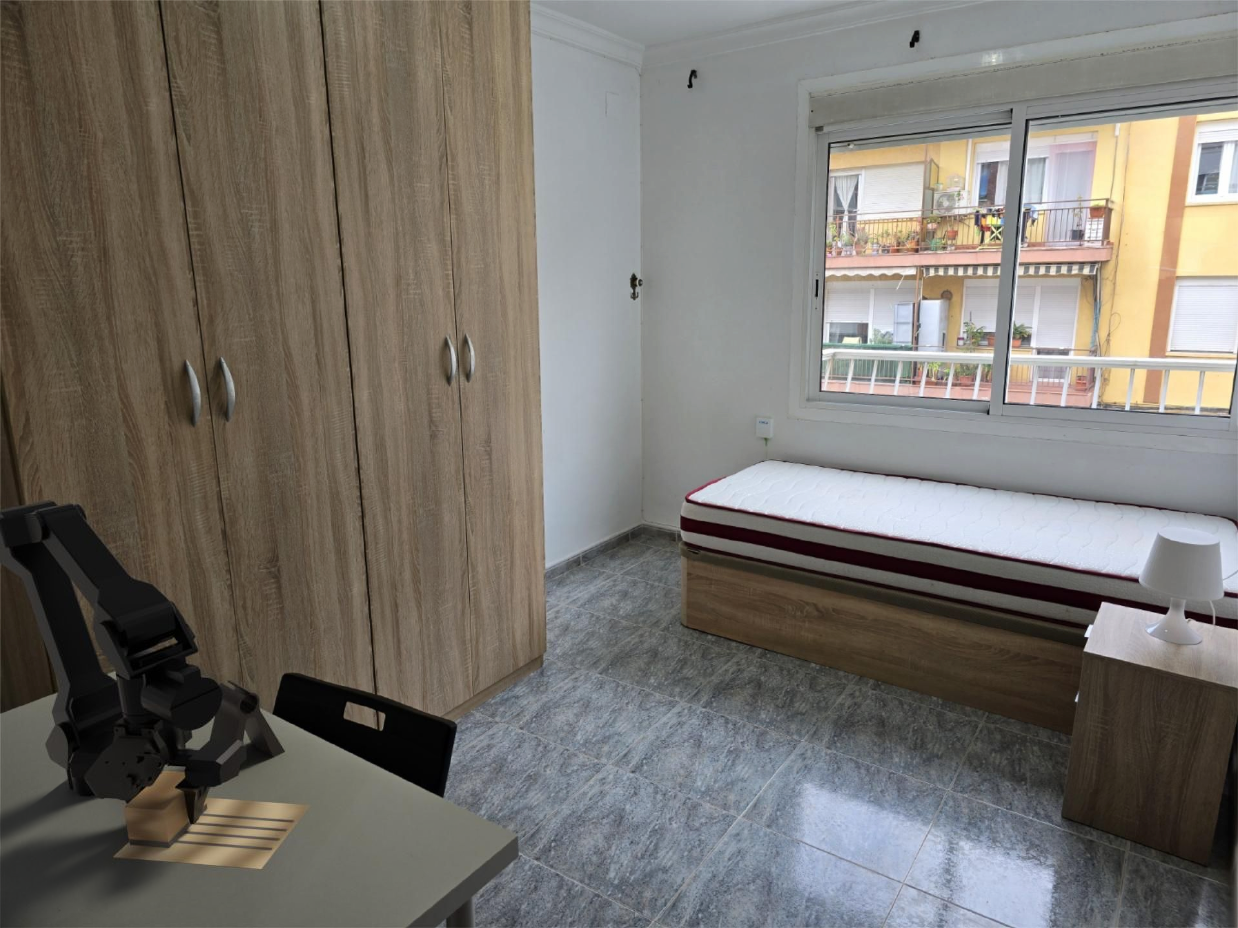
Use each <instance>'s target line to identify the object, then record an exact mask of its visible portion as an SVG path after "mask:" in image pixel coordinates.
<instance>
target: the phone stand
mask: <svg viewBox="0 0 1238 928" xmlns="http://www.w3.org/2000/svg"><path fill="white" fill-rule="evenodd" d="M227 683H228V684H230V685H232V686H233V687H234V689H233V688H231V687H229V686H228V685H226V684H224V683H223V682H220V683H219V684H218V685H219V686H220V688H221V689H222V703H221V706H220V708H219V710H218V712H217V714H216V715H215V716H214V718H213V723H212V728H211V730H210V731H211V733H210V738H209V740H210V739H211V738H222V739H238V740H240V741H242V742H244V739H245V732H246V735H247V737H248V740H249V742H250V744H252V745H254V746H255V747H257V748H258V749H260V750H261V751H263V752H264V753H266V754H267V755H269V756H271V757H272V758H276V757H278V756H279V755H282V754H284V753H285V752H286V750H285V748H284V747H283V745H282V744H281V742H280V740H279V739H278V737H277V735H276V734H275V732H274V731H273V729H272V727H271V726H270V724H269V722H268V721H267V719H266V717H265V716H264V714H263V712H262V711H261V706H260V697H259V695H258V694H257V693H255V692H253V690H252V691H251V690H250V689H248V688H246V687H245V686H243V685H241V684H239V683H237V682H236V681H234V680H231V679H228V680H227ZM240 767H241V765H240V766H239V767H238V768H237V769H236V770H235V771H234V772H233V773H232V774H231V775H230V776H229V777H228V778H227V779H226V780H225V781H224V782H229V781H231V780H232V779H234V778H237V777H238V776H239V775H240Z"/></svg>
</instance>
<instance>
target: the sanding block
mask: <svg viewBox="0 0 1238 928" xmlns="http://www.w3.org/2000/svg"><path fill="white" fill-rule="evenodd" d="M184 778H185V773H184V771H175V770H163V771H162V772H161V774H160V775H159V777H158V778H157V780H156V781H155V783H154V784H153V785H152V786H150V787H146V788H145V789H144V790H142V791H141V792H140V793H139V794H138V795H137V796H136V797H135V798H133V799H132V800H131V801H130V802H129V803H128V804H127V803H126V805H124V806H123V812H124V813H123V814H124V818H125V824H126V831H127V836H128V842H129V843H130V845H138V846H150V847H163V848H170V847H171V846H172V845H173V844H174V843H175V842H176V841H177V840H178V839H179V838H180V837H181V836H182V835H183V834H184V832H185V831H186V830H187V829H188V828H189V827H190V826H191V825H192V824H190V821H189V818H188V815H187V809H186V803H185V797H184V792H183V791H181V790H178V789H176V788H175V786H176V785H177V784H179V783H180V782H181V781H182V780H183V779H184ZM206 810H207V802H206V800H205V803H204V806H203V809H202V812H201V815H202V814H203V813H204V812H205V811H206ZM201 815H200V816H201Z"/></svg>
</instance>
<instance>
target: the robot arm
mask: <svg viewBox="0 0 1238 928" xmlns="http://www.w3.org/2000/svg"><path fill="white" fill-rule="evenodd" d="M0 564H1V565H2V566H4V567H5V568H6V569H8V570H10V572H12V573H14V574H15V575H17V576H18V577H20V578H21V579H22V582H23V584H24V588H25V590H26V593H27V596H28V599H29V602H30V604H31V605H30V606H31V607H32V610H33V614H34V616H35V619H36V622H37V625H38V628H39V630H40V634H41V636H42V639H43V641H44V644H45V649H46V650H47V653H48V656H49V660H50V662H51V665H52V668H53V672H54V674H55V677H56V680H57V681H58V686H59V687H58V691H57V694H56V697H55V700H54V704H53V705H52V710H51V714H52V718H53V722H54V726H53V728H52V729H51V732H50V734H49V735H48V738H47V739H46V741H45V748H46V751H47V754H48V757H49V760H51V761H52V762H54V763H55V764H57V765H58V766H60V767H62V768H63V769H65V771H66V775H67V776H66V777H67V781H68V787H69V788H68V789H69V790H72V791H74V794H75V795H77V796H79V797H94V796H95V797H96V798H97V799H100V800H105V799H114V800H119V801H124V802H125V804H126V805H127V804H128V803H129V802H130V801H131V800H132V799H133V798H135V797H136V796H137V795H138V794H139V793H140V792H141V791H142V790H144V789H145V788H146V787H150V786H152V785H153V784H154V783H155V781H156V780H157V778H158V777H159V775H161V774H162V773H163V772H164V768H168V767H179V768H180V767H181V768H184V771H183V772H184V773H185V778H184V779H183V780H182V781H181V782H180V783H179V784H177V785H176V786H175V788H176V789H178V790H181V791H183V792H184V797H185V803H186V809H187V815H188V818H189V821H190V824H195V823H196V822H197V821H198V820H199V817H200V815H201V812H202V809H203V806H204V803H205V800H206V798H208V795H209V791H210V789H211V788H216V787H219V786H221V785H222V784H223V783H224V782H225V780H226V779H227V778H228V777H229V776H230V775H231V774H232V773H233V772H234V771H235V770H236V769H237V768H238V767H239V766H240V767H241V765H242V764H243V763H244V762H245V761H246V760H247V759H248V758H247V751H246V745H245V742H244V741H243V742H242V741H240V740H238V739H222V738H211V739H210V738H209V740H208V741H207V742H206V743H205V744H204V745H202V746H201V747H200V748H193V747H192V748H191V747H186V746H187V745H186V744H187V743H188V742H189V741H191V739H192V738H193V732H192V731H195V730H199V729H200V728H203V727H204V726H206V725H207V724H209V723H210V722H211V721H212V720H214V718H215V715H216V714H217V712H218V710H219V708H220V706H221V703H222V689H221V688H220V686H219V684H218V682H217V681H216V680H214V679H213V678H210V677H208V676H206V675H203V674H202V671H201V670H202V669H201V668H200V667H199V666H198V665H195V664H190V663H187V657H190V656H192V655H194V654H197V653H199V649H198V646H197V644H196V641H195V639H196V635H195V633H194V632H193V630H192V628H191V626H190V625H189V624H188V622H187V620H186V619H185V617H184V616H183V615H182V612H181V611H180V610H179V608H178V607H177V605H176V604H175V603H174V602H173V601H172V600H171V599H169V598H168V597H167V596H166V595H164V593H163V592H162V591H161V590H159V588H157V587H156V586H155V585H154V584H152V583H149V582H145V581H143V580H139V579H136V578H134V577H133V576H132V575H131V574H129V572H128V571H127V570H126V568H125V567H124V566H123V565H122V564H121V562H120V561H119V560H118V559H117V557H116V556H115V554H113V552H112V551H111V550H110V549H109V548H108V546H107V545H106V543H105V542H104V541H103V540H102V539H101V537H100V536H99V535H98V533H97V532H96V531H95V530H94V529H93V528H92V526H91V525H90V523H89V522H88V520H87V515H86V513H85V510H84V509H83V507H82V505H80V504H79V503H71V502H68V503H63V504H59V505H58V504H57V503H56V502H55V501H53V500H52V499H49V500H44V501H39V502H38V501H37V502H34V503H33V502H32V503H28V504H23V505H19V506H12V507H10V508H3V509H0ZM74 585H75V586H74ZM75 587H76V588H77V589H78V590H79V593H81V594H82V597H84V599H86V600H87V602H88V604H89V606H91V609H92V610H93V617H92V625H91V630H92V632H93V634H94V638H95V641H96V644H97V646H98V647H99V649H100V650H101V652H102V653H103V654H104V656H105V658H106V659H107V661H108V664H110V665H112V667H113V668H114V671H115V677H116V678H113V677H112V676H111V675H109V674H108V673H106V672H105V671H104V670H103V668H102V666H101V662H100V659H99V656H98V654H97V650H96V647H95V644H94V641H93V639H92V636H91V634H90V630H89V627H88V624H87V622H86V621H87V620H86V618H85V615H84V612H83V610H82V607H81V604H80V601H79V599H78V595H77V593H76V590H75V589H76V588H75ZM173 639H174V640H175V641H176V642H174V643H172V644H169V645H166V646H164V647H161V648H160V649H159V648H158V649H157V650H156V649H154V648H155V647H157V646H160V645H163V644H165V643H168V642H170V641H172V640H173Z"/></svg>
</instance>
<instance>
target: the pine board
mask: <svg viewBox="0 0 1238 928" xmlns="http://www.w3.org/2000/svg"><path fill="white" fill-rule="evenodd" d="M206 802H207V810H206V811H205V812H204V813H203V814H202V815H201V816H200V817H199V820H198V821H197V822H196V823H195V824H192V825H191V826H190V827H189V828H188V829H187V830H186V831H185V832H184V834H183V835H182V836H181V837H180V838H179V839H178V840H177V841H176V842H175V843H174V844H173V845H172V846H171V847H170V848H163V847H150V846H138V845H130V843H129V841H128V842H127V843H126V844H125V845H124V846H123V847H122V848H121V849H119V851H118V852H116V853H115V854H114V856H113V858H118V859H119V858H120V859H131V860H132V859H133V860H142V861H143V860H146V861H157V862H168V863H180V864H193V865H194V864H195V865H205V866H217V867H218V866H219V867H230V868H242V869H243V868H244V869H253V870H262V868H264V867H265V865H266V864H267V862H268V861H269V860H270V859H271V857H272V856H273V855H274V854H275V852H276V850H277V849H278V848H279V847H280V845H281V844H282V843H283V842H284V841H285V839H286V838H287V837H288V835H289V834H290V833H291V831H292V830H293V829H294V827H296V825H297V823H298V822H299V821H301V819H302V817H304V814H305V813H306V812H307V811H308V809H309V808H310V807H311V805H310V804H297V803H285V802H272V801H271V802H269V801H255V800H245V799H243V800H241V799H228V798H213V797H206Z"/></svg>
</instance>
